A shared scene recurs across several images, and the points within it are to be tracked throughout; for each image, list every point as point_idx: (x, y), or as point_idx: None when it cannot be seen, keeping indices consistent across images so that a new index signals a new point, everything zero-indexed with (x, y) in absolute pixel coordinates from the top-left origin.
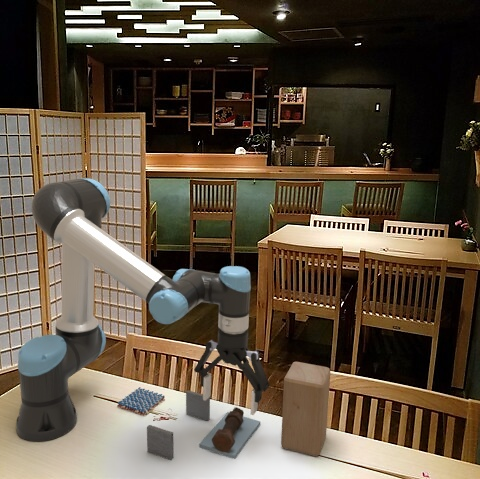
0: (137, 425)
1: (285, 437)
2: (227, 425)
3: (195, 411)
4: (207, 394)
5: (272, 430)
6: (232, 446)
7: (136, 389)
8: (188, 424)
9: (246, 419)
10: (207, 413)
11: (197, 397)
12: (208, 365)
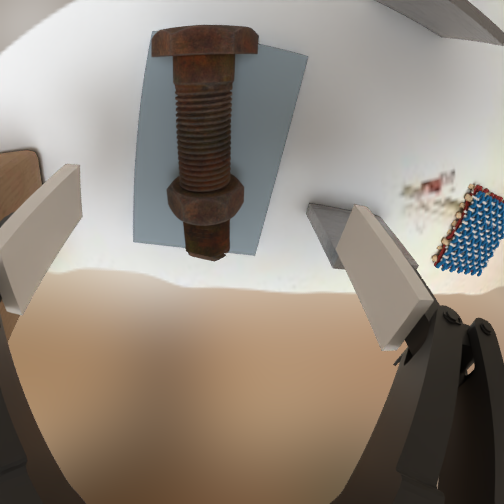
0: (482, 143)
1: (4, 163)
2: (208, 122)
3: None
4: (356, 235)
5: (92, 221)
6: None
7: (485, 266)
8: (366, 171)
9: (179, 237)
10: (319, 217)
11: None
12: (456, 397)
